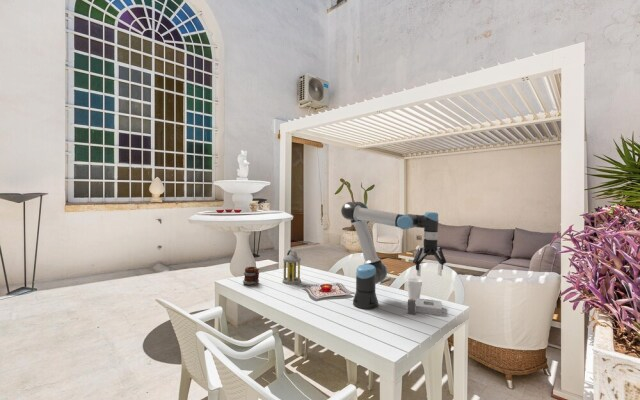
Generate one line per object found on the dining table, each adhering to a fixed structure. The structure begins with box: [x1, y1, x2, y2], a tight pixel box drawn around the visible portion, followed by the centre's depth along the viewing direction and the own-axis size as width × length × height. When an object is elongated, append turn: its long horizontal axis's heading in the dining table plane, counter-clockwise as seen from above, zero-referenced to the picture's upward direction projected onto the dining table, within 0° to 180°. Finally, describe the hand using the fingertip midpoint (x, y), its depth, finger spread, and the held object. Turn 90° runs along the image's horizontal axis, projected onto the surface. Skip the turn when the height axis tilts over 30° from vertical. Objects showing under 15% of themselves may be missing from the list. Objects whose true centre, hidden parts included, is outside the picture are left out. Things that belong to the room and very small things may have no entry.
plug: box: [406, 298, 416, 316], centre depth 171 cm, size 4×4×8 cm
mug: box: [242, 266, 260, 287], centre depth 223 cm, size 12×14×15 cm
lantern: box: [281, 248, 302, 285], centre depth 231 cm, size 14×14×25 cm
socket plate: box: [415, 297, 443, 316], centre depth 177 cm, size 14×14×4 cm
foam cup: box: [406, 277, 423, 303], centre depth 192 cm, size 10×9×13 cm
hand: (429, 275), depth 174 cm, fingers open, 13 cm apart
